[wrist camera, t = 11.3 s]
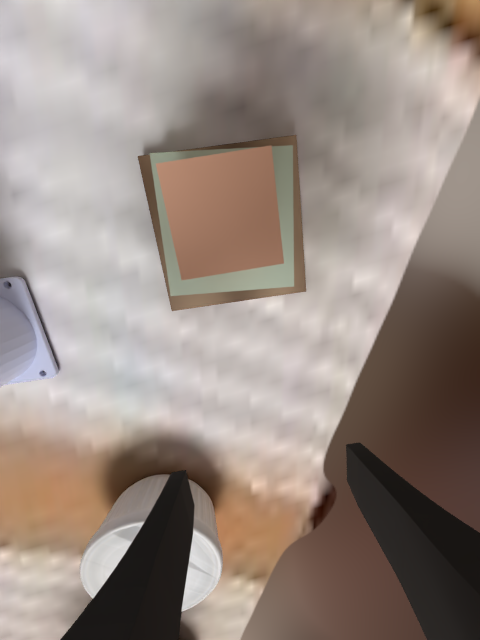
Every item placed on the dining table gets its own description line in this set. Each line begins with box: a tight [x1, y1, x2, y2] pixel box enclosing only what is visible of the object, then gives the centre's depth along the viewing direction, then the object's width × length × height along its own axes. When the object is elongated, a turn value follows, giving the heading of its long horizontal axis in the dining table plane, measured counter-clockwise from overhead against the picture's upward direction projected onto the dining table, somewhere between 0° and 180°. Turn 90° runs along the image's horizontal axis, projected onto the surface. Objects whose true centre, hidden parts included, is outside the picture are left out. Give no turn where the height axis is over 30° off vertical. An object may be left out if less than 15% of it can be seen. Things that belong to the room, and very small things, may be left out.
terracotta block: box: [156, 145, 284, 280], centre depth 13 cm, size 4×4×5 cm
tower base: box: [138, 135, 306, 311], centre depth 18 cm, size 10×10×2 cm
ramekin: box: [80, 474, 223, 612], centre depth 22 cm, size 11×11×5 cm
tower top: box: [150, 145, 294, 296], centre depth 16 cm, size 8×8×2 cm
